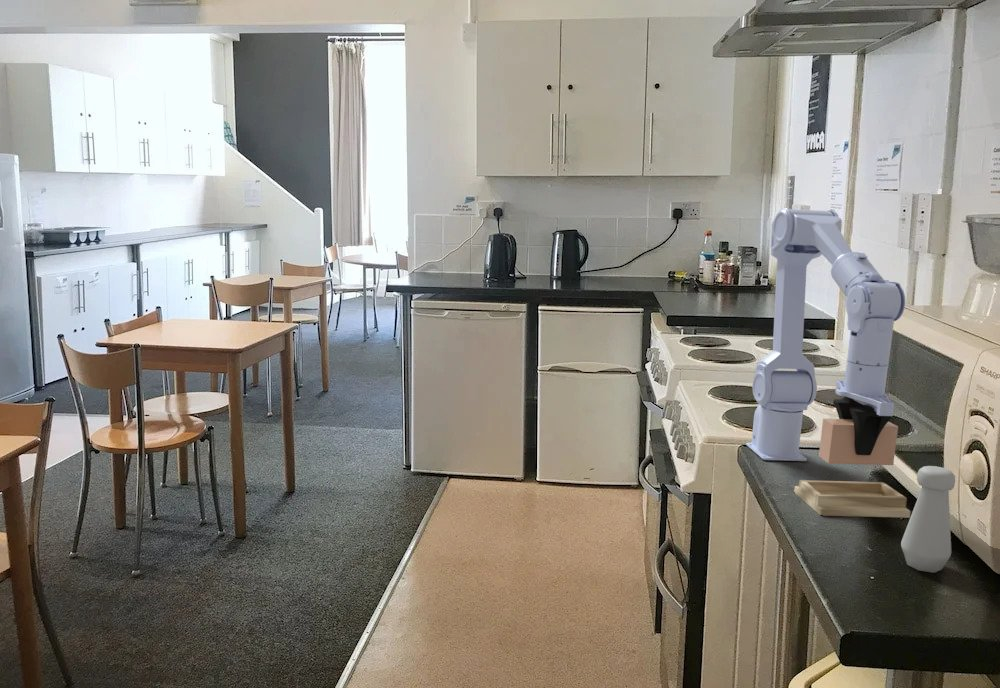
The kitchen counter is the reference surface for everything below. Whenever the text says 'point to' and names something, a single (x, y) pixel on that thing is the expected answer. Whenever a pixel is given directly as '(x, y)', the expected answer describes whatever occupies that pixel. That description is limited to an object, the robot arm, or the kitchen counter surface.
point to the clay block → (841, 444)
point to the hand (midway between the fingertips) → (856, 450)
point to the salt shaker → (930, 521)
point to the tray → (852, 498)
